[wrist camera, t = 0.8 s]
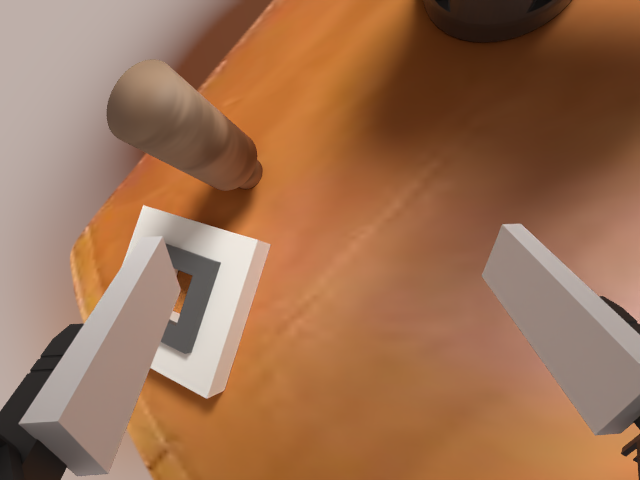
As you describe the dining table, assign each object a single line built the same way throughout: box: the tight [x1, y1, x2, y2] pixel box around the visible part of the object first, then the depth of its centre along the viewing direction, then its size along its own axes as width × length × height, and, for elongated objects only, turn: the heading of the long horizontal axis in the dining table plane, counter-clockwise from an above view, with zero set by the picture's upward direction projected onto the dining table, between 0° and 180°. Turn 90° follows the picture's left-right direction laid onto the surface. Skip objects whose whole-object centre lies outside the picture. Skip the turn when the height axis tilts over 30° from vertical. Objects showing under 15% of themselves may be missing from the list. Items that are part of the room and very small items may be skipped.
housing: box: [122, 205, 271, 399], centre depth 37 cm, size 17×17×4 cm
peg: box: [107, 60, 262, 191], centre depth 32 cm, size 7×7×16 cm
